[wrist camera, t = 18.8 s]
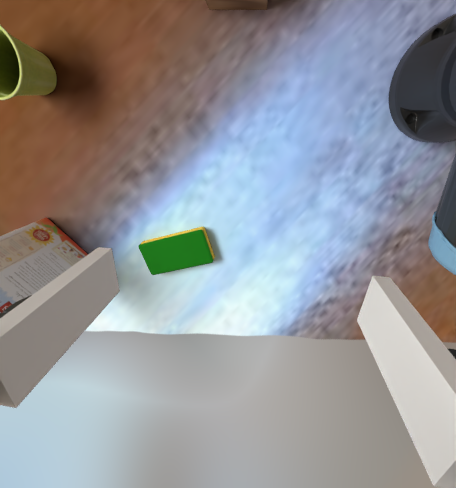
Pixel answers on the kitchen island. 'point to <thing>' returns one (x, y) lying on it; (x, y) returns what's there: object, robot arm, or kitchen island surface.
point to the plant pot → (23, 69)
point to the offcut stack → (237, 4)
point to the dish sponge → (177, 251)
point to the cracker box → (33, 259)
